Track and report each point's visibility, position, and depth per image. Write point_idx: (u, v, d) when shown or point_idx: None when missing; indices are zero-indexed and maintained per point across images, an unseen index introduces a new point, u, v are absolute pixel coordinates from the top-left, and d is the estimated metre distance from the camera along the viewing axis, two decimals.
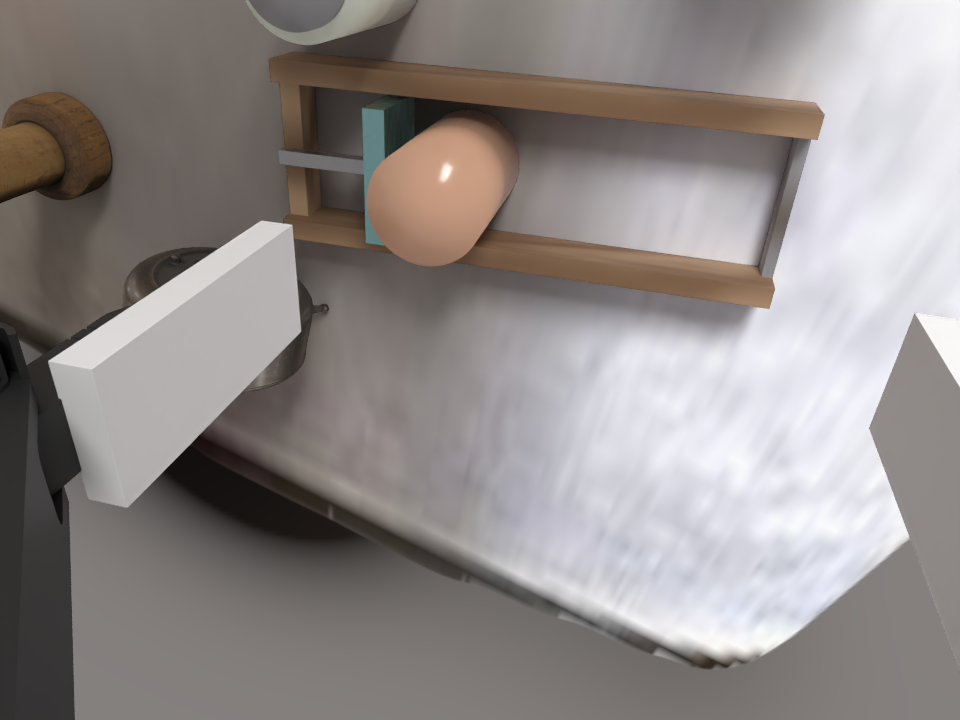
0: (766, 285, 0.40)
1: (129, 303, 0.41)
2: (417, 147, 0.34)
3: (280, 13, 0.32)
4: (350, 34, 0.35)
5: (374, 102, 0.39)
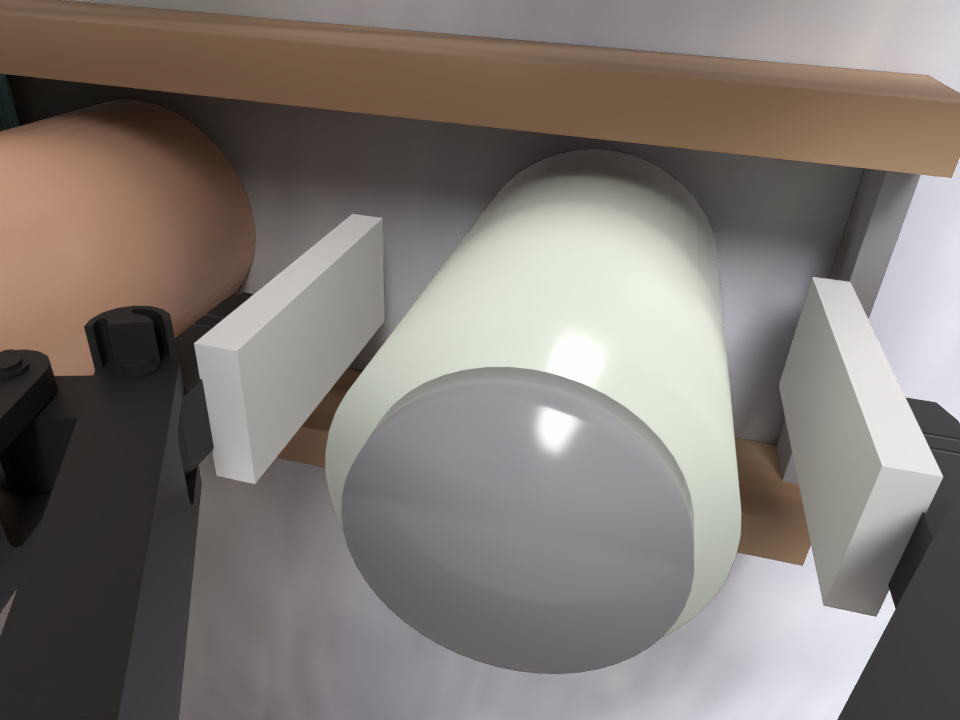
0: (795, 514, 0.17)
1: None
2: None
3: (463, 625, 0.11)
4: None
5: None
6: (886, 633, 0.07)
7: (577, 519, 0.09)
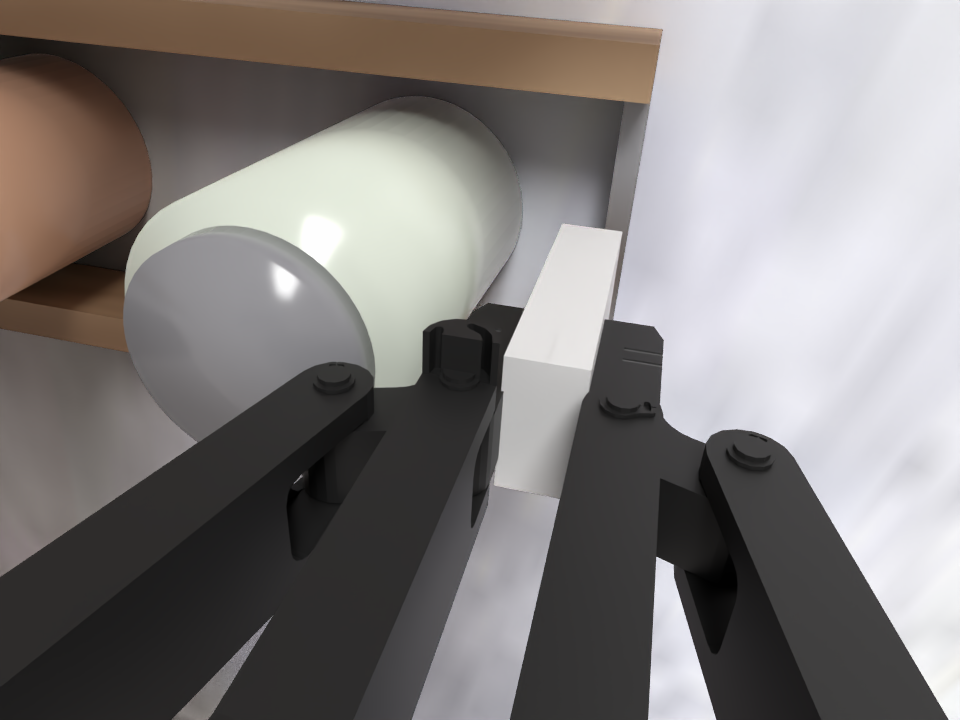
0: None
1: None
2: None
3: None
4: None
5: None
6: (556, 523, 0.09)
7: (275, 337, 0.13)
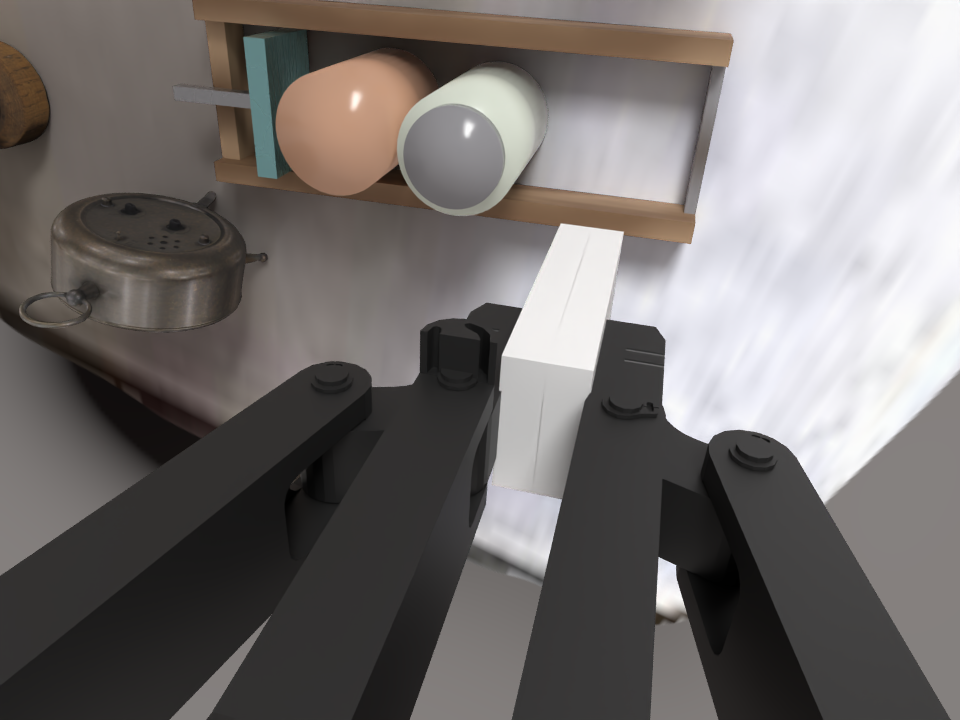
0: (687, 220, 0.40)
1: (54, 240, 0.41)
2: (321, 71, 0.35)
3: (439, 192, 0.35)
4: None
5: (259, 33, 0.40)
6: (559, 524, 0.09)
7: (470, 145, 0.34)
